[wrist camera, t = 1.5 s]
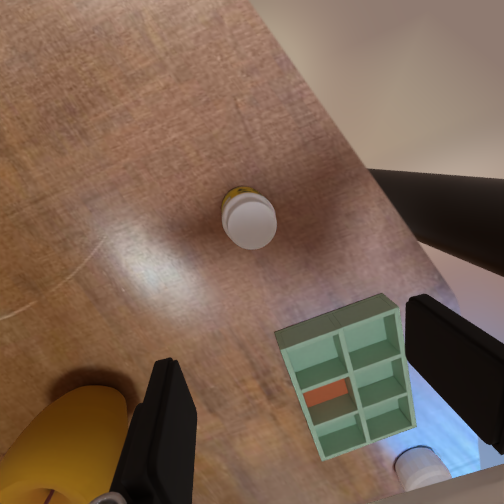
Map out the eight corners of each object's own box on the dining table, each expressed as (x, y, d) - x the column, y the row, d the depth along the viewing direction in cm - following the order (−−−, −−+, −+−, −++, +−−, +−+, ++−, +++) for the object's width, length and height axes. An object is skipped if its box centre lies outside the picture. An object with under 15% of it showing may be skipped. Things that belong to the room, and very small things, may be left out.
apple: (124, 353, 33) (71, 466, 21) (155, 413, 37) (125, 537, 25) (36, 377, 33) (-69, 506, 21) (76, 435, 37) (8, 573, 25)
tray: (382, 292, 35) (399, 306, 32) (401, 406, 43) (416, 427, 40) (274, 332, 35) (280, 350, 32) (313, 438, 43) (321, 461, 40)
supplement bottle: (271, 195, 29) (292, 210, 21) (254, 235, 30) (268, 262, 22) (230, 178, 28) (236, 186, 20) (214, 219, 29) (213, 243, 21)
